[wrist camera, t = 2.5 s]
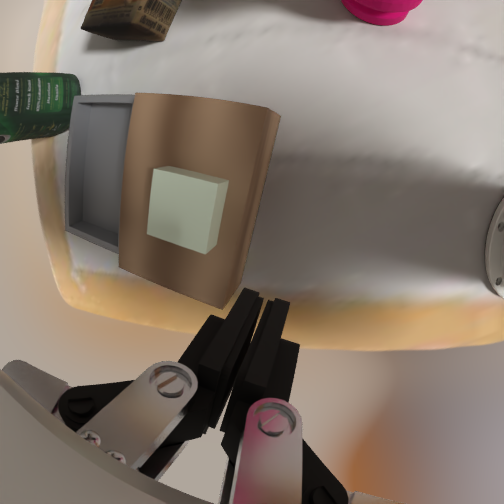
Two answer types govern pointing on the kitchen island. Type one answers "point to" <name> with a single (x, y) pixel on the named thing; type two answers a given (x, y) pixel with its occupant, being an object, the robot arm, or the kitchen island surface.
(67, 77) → the coffee jar
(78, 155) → the tray
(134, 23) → the beverage carton
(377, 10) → the pepper mill
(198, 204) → the tile
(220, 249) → the board
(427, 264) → the kitchen island surface
